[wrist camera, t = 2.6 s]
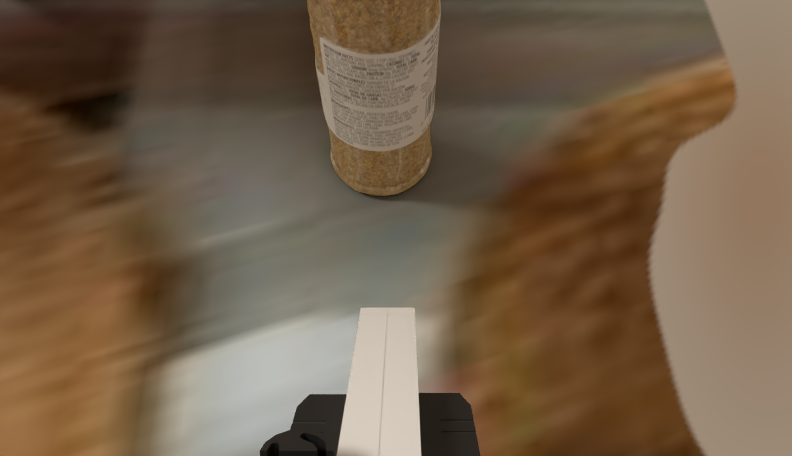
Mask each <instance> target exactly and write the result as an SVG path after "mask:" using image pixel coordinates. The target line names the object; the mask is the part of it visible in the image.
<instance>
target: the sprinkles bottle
mask: <svg viewBox="0 0 792 456" xmlns="http://www.w3.org/2000/svg"><path fill="white" fill-rule="evenodd" d="M307 4H308V12H309V16H310V28H311V31H312V36H313V43H314V48H315V64H316V71H317V77H318V83H319V89H320V94H321V100H322V106H323V112H324V116H325V119H326V122H327V124H328V130H329V136H330V142H331V149H330V158H331V162H332V165H333V167H334V170H335V172H336V173H337V174H338V175H339V177H340V178H341V179H342V180H343V181H344V182H345V183H346V184H347V185H348V186H350V187H351V188H353V189H354V190H356V191H358V192H361V193H367V194H370V195H380V196H386V195H392V194H398V193H400V192H403V191H405V190H407V189H409V188H410V187H411V186H413V185H415V184H416V183H417V182H418V181H419V180H420V179H421V178H422V177H423V176H424V175H425V174H426V172H427V170H428V167H429V165H430V162H431V156H432V145H431V141H430V131H431V120H432V117H433V113H434V104H435V88H436V75H437V59H438V45H439V31H440V17H441V3H440V0H307Z"/></svg>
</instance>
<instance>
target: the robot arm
mask: <svg viewBox="0 0 792 456" xmlns="http://www.w3.org/2000/svg"><path fill="white" fill-rule="evenodd" d="M260 456H480V452H479V447H478V441H477V436H476V431H475V426H474V422H473V415H472V410H471V405H470V404H469V403H468V402H467V401H466V400H465V399H464V398H463V396H462V395H461V394H460V393H418V372H417V350H416V327H415V308H361V311H360V317H359V323H358V329H357V335H356V341H355V347H354V353H353V359H352V365H351V371H350V378H349V384H348V390H347V394H310V395H309V396H308V397H307V398H305V399H304V400H303V401H302V402H301V403H300V404H299V405H298V406H297V409H296V412H295V416H294V419H293V423H292V426H291V429H290V430H289V431H286V432H283V433H280V434H277V435H275V436H274V437H272V438H271V439H269V440H268V441H266V442H265V444H264V445H263V447H262V448H261V450H260Z"/></svg>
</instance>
